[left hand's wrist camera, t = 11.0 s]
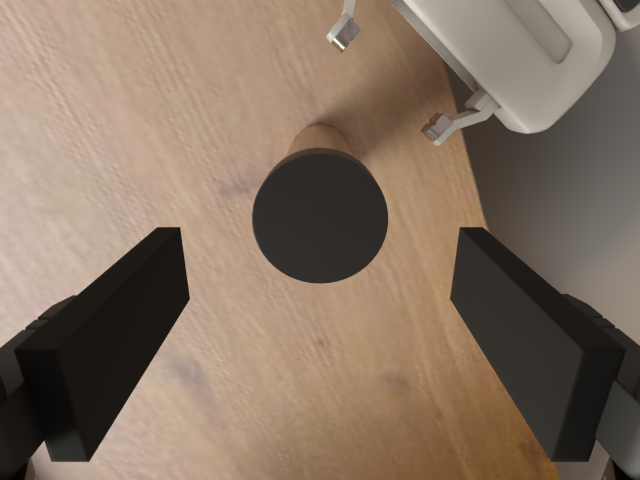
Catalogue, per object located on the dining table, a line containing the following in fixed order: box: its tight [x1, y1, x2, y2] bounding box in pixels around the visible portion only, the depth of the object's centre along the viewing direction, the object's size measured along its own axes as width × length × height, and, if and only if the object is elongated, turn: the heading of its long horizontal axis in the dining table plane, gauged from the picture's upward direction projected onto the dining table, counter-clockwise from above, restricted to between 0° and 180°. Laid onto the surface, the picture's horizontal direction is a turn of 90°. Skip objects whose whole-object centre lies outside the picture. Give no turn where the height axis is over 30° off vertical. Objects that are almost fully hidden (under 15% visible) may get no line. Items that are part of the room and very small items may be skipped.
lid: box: [252, 147, 388, 283], centre depth 19 cm, size 6×6×2 cm
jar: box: [285, 124, 355, 158], centre depth 27 cm, size 5×5×19 cm
